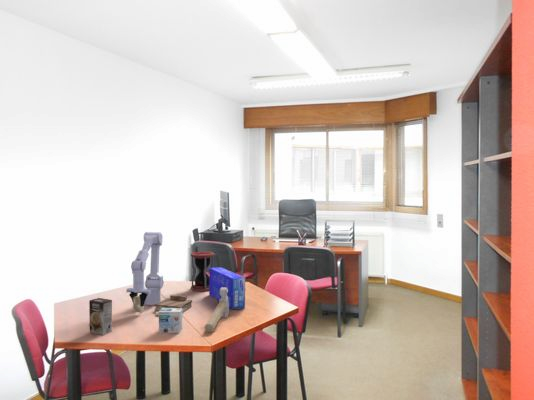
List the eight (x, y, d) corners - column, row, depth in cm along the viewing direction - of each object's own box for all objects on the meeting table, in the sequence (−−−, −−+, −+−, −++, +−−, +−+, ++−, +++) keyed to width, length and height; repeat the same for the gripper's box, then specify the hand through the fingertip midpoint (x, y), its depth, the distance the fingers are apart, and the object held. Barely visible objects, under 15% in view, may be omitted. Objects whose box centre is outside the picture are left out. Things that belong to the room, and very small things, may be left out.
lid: (154, 306, 253) (154, 300, 253) (167, 299, 267) (167, 293, 267) (180, 308, 248) (180, 302, 248) (192, 301, 262) (192, 296, 262)
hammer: (212, 315, 215) (228, 287, 243) (203, 314, 216) (220, 286, 244) (214, 343, 219) (230, 312, 248) (205, 342, 220) (222, 312, 248)
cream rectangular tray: (148, 314, 247) (148, 309, 247) (167, 304, 267) (167, 299, 267) (174, 317, 242) (174, 311, 242) (191, 307, 262) (191, 302, 262)
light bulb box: (158, 333, 217) (158, 311, 216) (161, 328, 224) (161, 307, 223) (180, 333, 217) (180, 311, 216) (182, 328, 224) (182, 307, 223)
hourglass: (210, 285, 318) (210, 250, 317) (217, 290, 303) (217, 254, 302) (188, 287, 311) (188, 252, 310) (194, 292, 296) (194, 255, 295)
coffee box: (88, 332, 217) (88, 300, 216) (98, 328, 223) (98, 297, 222) (103, 335, 213) (102, 302, 213) (112, 331, 219) (112, 299, 218)
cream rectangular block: (133, 311, 245) (133, 297, 244) (137, 309, 248) (137, 295, 248) (139, 312, 243) (139, 298, 243) (143, 310, 247) (143, 296, 247)
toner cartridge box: (245, 308, 260) (245, 277, 259) (232, 310, 256) (232, 279, 255) (220, 293, 294) (220, 266, 294) (208, 295, 291) (208, 267, 290)
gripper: (123, 282, 244) (123, 306, 244) (146, 284, 239) (146, 308, 240) (130, 279, 250) (130, 303, 251) (153, 281, 246) (153, 305, 247)
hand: (138, 305), depth 246 cm, fingers closed on cream rectangular block, 4 cm apart
